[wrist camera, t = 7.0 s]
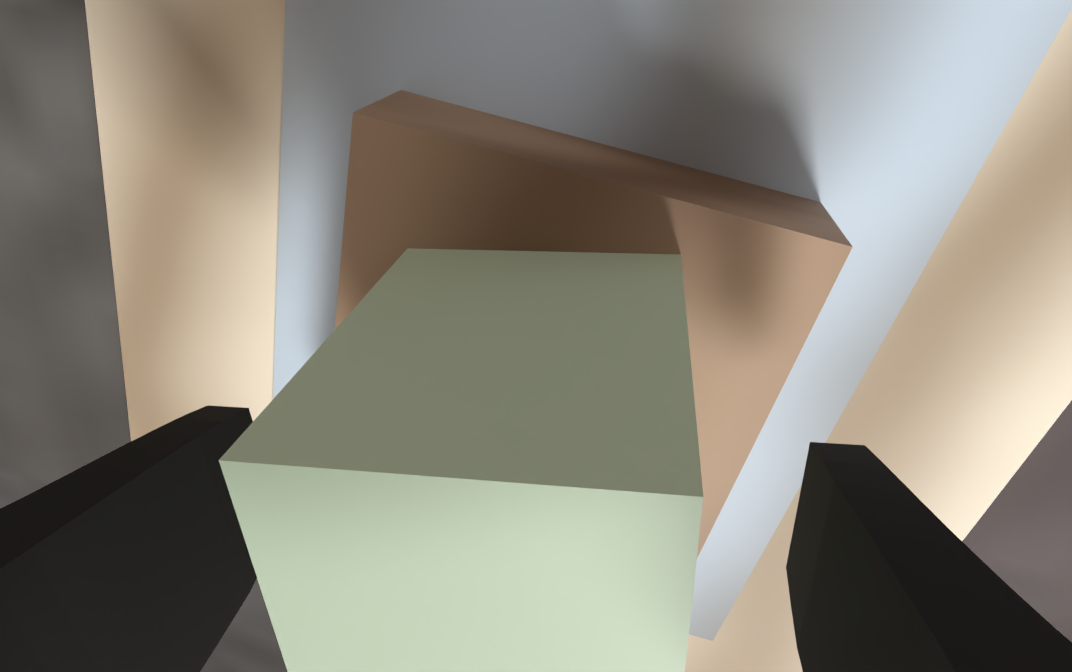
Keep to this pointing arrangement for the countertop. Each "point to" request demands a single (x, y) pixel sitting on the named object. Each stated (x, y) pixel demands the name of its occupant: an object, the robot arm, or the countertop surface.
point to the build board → (224, 257)
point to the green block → (484, 472)
